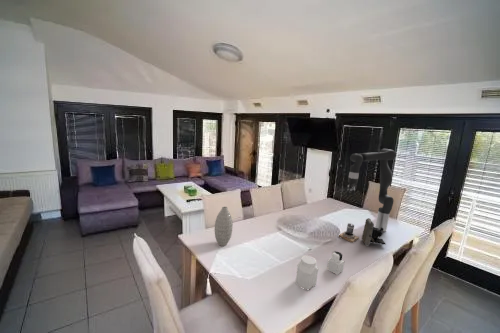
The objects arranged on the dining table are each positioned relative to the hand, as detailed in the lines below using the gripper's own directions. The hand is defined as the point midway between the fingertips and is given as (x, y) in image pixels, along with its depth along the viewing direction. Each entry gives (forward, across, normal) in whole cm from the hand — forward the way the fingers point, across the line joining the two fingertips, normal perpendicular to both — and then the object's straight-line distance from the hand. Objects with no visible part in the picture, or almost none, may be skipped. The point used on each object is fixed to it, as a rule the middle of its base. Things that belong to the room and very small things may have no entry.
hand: (350, 195), depth 200 cm
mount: (+33, +9, +8) cm, 35 cm away
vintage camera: (+33, +2, +25) cm, 42 cm away
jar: (+33, +87, +20) cm, 95 cm away
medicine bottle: (+33, +61, +24) cm, 74 cm away
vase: (+33, +102, -42) cm, 115 cm away
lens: (+32, +9, +8) cm, 34 cm away
